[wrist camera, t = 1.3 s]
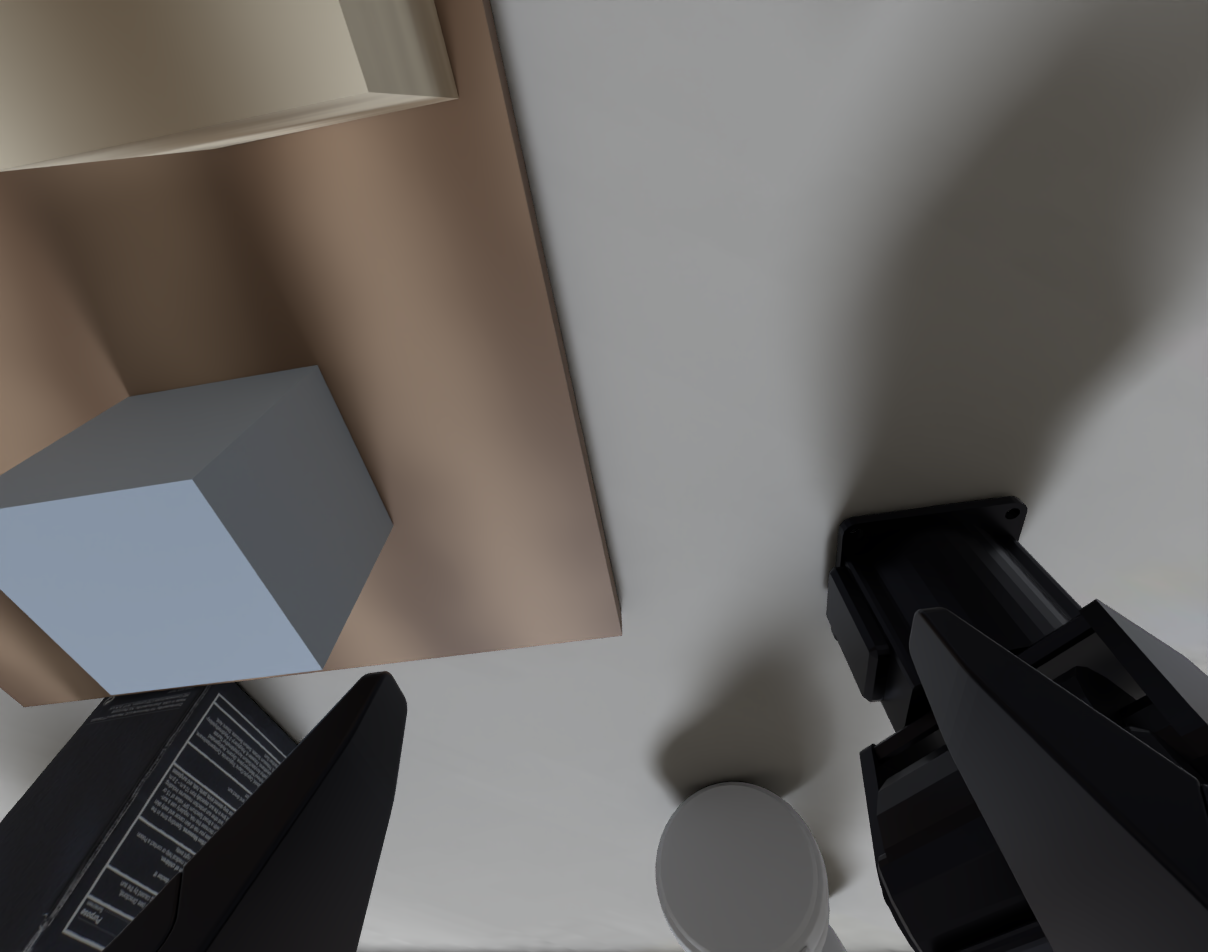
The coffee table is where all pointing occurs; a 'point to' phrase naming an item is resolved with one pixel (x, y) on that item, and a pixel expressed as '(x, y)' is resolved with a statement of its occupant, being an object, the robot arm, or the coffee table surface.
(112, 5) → the birch cube
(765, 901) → the headphones
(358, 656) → the walnut board
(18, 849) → the small box
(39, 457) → the slate cube
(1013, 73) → the coffee table surface
